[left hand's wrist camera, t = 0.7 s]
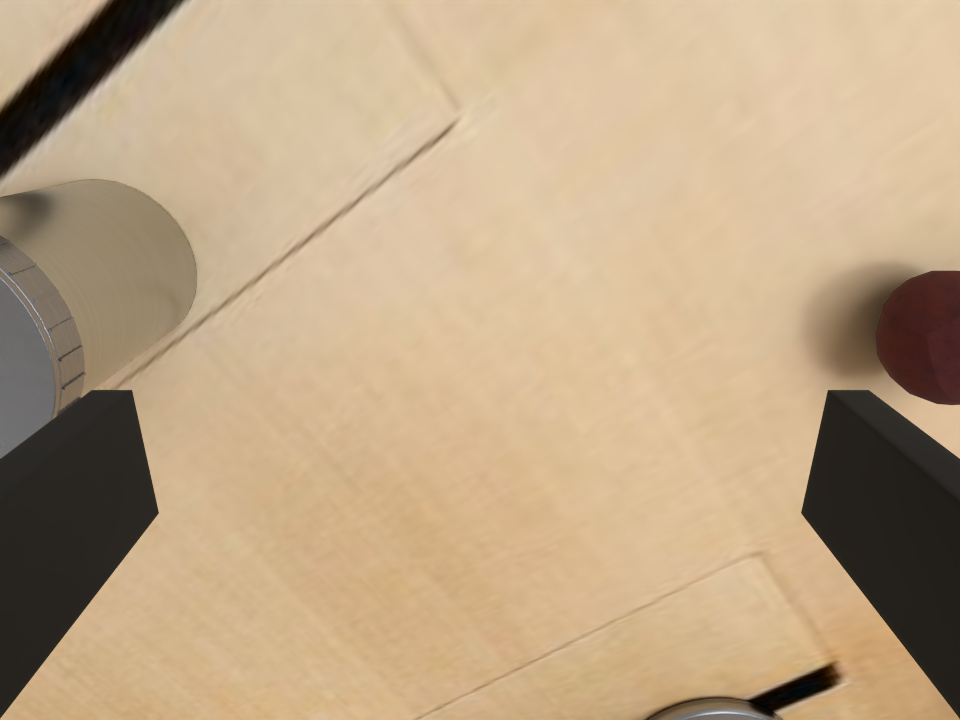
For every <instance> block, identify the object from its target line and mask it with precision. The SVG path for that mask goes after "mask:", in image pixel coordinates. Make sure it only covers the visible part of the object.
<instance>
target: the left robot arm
mask: <svg viewBox="0 0 960 720" xmlns="http://www.w3.org/2000/svg"><path fill="white" fill-rule="evenodd" d="M158 513H159V512H158V507H157V503H156V498H155V494H154V489H153V484H152V480H151V475H150V471H149V466H148V461H147V457H146V452H145V448H144V443H143V439H142V434H141V429H140V425H139V420H138V416H137V411H136V406H135V402H134V397H133V393H132V390H91V391H90V392H88V393H87V394H86V395H84V396H83V397H82V398H80V399H79V400H78V401H76V402H75V403H74V404H72V405H71V406H70V407H68V408H67V409H66V410H64V411H63V412H62V413H60V414H59V415H58V416H57V417H55V418H54V419H53V420H51V421H50V422H49V423H47V424H46V425H45V426H43V427H42V428H41V429H39V430H38V431H37V432H35V433H34V434H33V435H31V436H30V437H29V438H27V439H26V440H25V441H23V442H22V443H21V444H19V445H18V446H17V447H15V448H14V449H13V450H11V451H10V452H9V453H7V454H6V455H5V456H3V457H2V458H1V459H0V718H1V717H2V715H3V714H4V713H5V712H6V710H7V709H8V708H9V706H10V705H11V704H12V703H13V701H14V700H15V699H16V697H17V696H18V695H19V693H20V692H21V691H22V690H23V688H24V687H25V686H26V684H27V683H28V682H29V680H30V679H31V678H32V677H33V675H34V674H35V673H36V671H37V670H38V669H39V668H40V666H41V665H42V664H43V662H44V661H45V660H46V658H47V657H48V656H49V655H50V653H51V652H52V651H53V649H54V648H55V647H56V646H57V644H58V643H59V642H60V640H61V639H62V638H63V636H64V635H65V634H66V633H67V631H68V630H69V629H70V627H71V626H72V625H73V624H74V622H75V621H76V620H77V618H78V617H79V616H80V614H81V613H82V612H83V611H84V609H85V608H86V607H87V605H88V604H89V603H90V602H91V600H92V599H93V598H94V596H95V595H96V594H97V592H98V591H99V590H100V589H101V587H102V586H103V585H104V583H105V582H106V581H107V580H108V578H109V577H110V576H111V574H112V573H113V572H114V570H115V569H116V568H117V567H118V565H119V564H120V563H121V561H122V560H123V559H124V557H125V556H126V555H127V554H128V552H129V551H130V550H131V548H132V547H133V546H134V545H135V543H136V542H137V541H138V539H139V538H140V537H141V535H142V534H143V533H144V532H145V530H146V529H147V528H148V526H149V525H150V524H151V523H152V521H153V520H154V519H155V517H156V516H157V515H158ZM801 513H802V515H803V516H804V517H805V519H806V520H807V521H808V523H809V524H810V525H811V526H812V528H813V529H814V530H815V532H816V533H817V534H818V535H819V537H820V538H821V539H822V541H823V542H824V543H825V545H826V546H827V547H828V548H829V550H830V551H831V552H832V554H833V555H834V556H835V557H836V559H837V560H838V561H839V563H840V564H841V565H842V567H843V568H844V569H845V570H846V572H847V573H848V574H849V576H850V577H851V578H852V580H853V581H854V582H855V583H856V585H857V586H858V587H859V589H860V590H861V591H862V592H863V594H864V595H865V596H866V598H867V599H868V600H869V602H870V603H871V604H872V605H873V607H874V608H875V609H876V611H877V612H878V613H879V614H880V616H881V617H882V618H883V620H884V621H885V622H886V624H887V625H888V626H889V627H890V629H891V630H892V631H893V633H894V634H895V635H896V636H897V638H898V639H899V640H900V642H901V643H902V644H903V646H904V647H905V648H906V649H907V651H908V652H909V653H910V655H911V656H912V657H913V658H914V660H915V661H916V662H917V664H918V665H919V666H920V668H921V669H922V670H923V671H924V673H925V674H926V675H927V677H928V678H929V679H930V680H931V682H932V683H933V684H934V686H935V687H936V688H937V690H938V691H939V692H940V693H941V695H942V696H943V697H944V699H945V700H946V701H947V703H948V704H949V705H950V706H951V708H952V709H953V710H954V712H955V713H956V714H957V715H958V717H959V718H960V459H959V458H958V457H957V456H955V455H954V454H953V453H951V452H950V451H949V450H947V449H946V448H945V447H943V446H942V445H941V444H939V443H938V442H937V441H935V440H934V439H933V438H931V437H930V436H929V435H927V434H926V433H925V432H923V431H922V430H921V429H919V428H918V427H917V426H915V425H914V424H913V423H911V422H910V421H909V420H907V419H906V418H905V417H903V416H902V415H901V414H900V413H898V412H897V411H896V410H894V409H893V408H892V407H890V406H889V405H888V404H886V403H885V402H884V401H882V400H881V399H880V398H878V397H877V396H876V395H874V394H873V393H872V392H870V391H869V390H828V393H827V397H826V402H825V406H824V411H823V416H822V420H821V425H820V429H819V434H818V439H817V443H816V448H815V452H814V457H813V461H812V466H811V471H810V475H809V480H808V484H807V489H806V494H805V498H804V503H803V507H802V512H801Z"/></svg>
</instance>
